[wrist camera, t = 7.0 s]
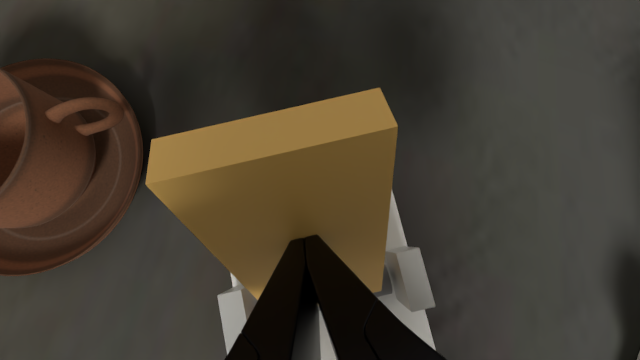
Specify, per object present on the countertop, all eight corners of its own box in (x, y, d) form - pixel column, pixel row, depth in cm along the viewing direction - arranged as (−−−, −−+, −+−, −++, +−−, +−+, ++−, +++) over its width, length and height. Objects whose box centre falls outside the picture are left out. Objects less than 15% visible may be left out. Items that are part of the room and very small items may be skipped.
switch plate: (432, 363, 17) (468, 406, 13) (263, 404, 17) (240, 462, 13) (382, 178, 19) (399, 160, 15) (228, 214, 19) (197, 206, 15)
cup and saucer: (83, 38, 21) (-14, -41, 15) (198, 175, 20) (141, 147, 14) (-80, 161, 20) (-255, 127, 14) (28, 318, 19) (-118, 357, 12)
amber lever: (391, 297, 16) (424, 123, 6) (268, 326, 16) (118, 194, 6) (382, 269, 17) (401, 79, 7) (265, 297, 17) (128, 141, 7)
